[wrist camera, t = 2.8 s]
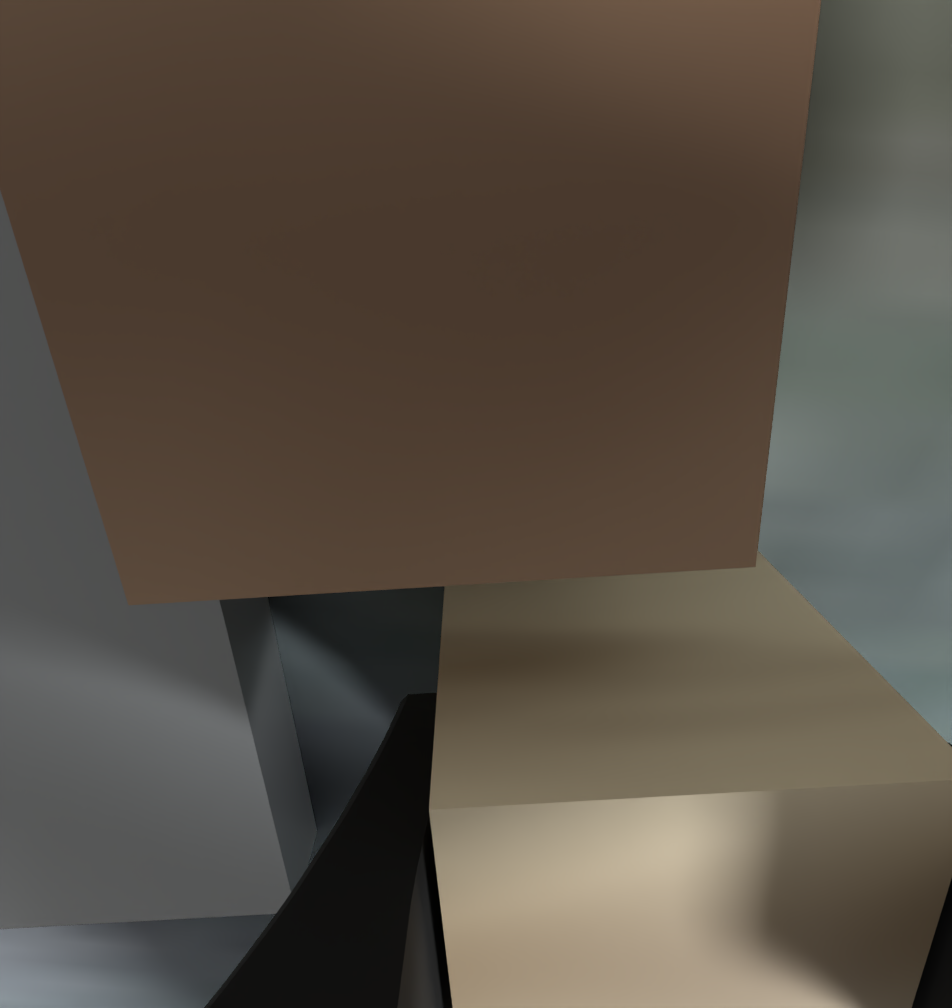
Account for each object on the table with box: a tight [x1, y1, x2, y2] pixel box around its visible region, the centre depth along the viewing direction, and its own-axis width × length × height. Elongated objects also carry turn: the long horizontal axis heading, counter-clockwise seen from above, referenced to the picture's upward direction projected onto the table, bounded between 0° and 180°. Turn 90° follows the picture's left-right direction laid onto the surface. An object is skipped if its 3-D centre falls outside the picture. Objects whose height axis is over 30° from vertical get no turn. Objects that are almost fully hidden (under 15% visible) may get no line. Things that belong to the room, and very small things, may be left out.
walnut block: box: [0, 0, 821, 605], centre depth 6 cm, size 4×4×4 cm
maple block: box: [429, 550, 952, 1008], centre depth 8 cm, size 4×4×4 cm
